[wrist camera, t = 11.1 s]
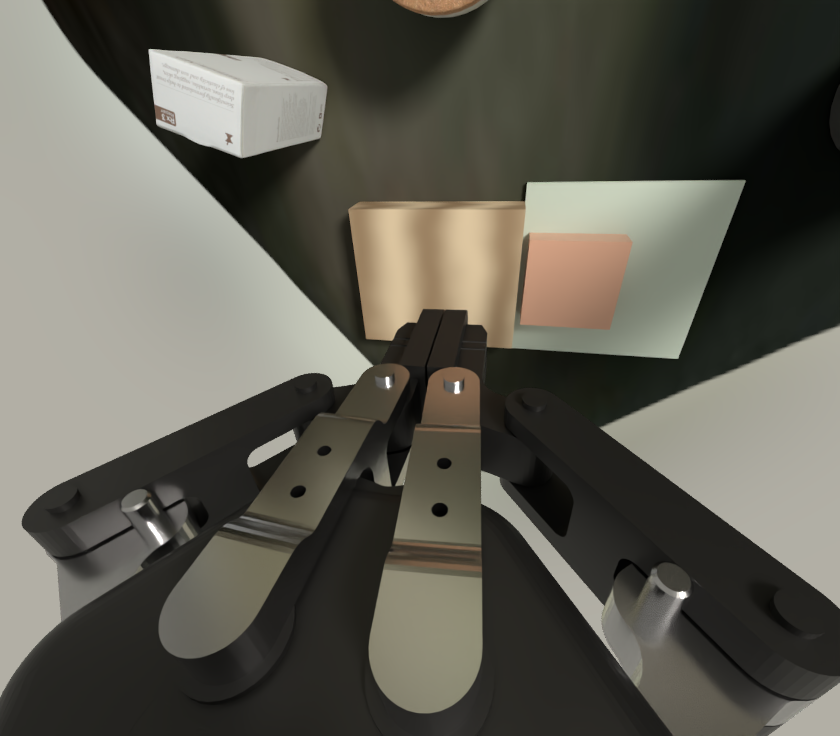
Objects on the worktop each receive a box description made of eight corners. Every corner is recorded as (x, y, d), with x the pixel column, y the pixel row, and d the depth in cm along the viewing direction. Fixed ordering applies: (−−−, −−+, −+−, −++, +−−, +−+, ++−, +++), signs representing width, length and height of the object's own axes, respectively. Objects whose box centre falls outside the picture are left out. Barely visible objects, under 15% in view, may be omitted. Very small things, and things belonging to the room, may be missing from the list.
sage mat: (743, 179, 30) (745, 180, 30) (676, 356, 39) (677, 358, 39) (527, 182, 33) (527, 183, 33) (510, 345, 42) (510, 347, 42)
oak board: (525, 201, 34) (525, 209, 32) (512, 333, 41) (511, 348, 39) (359, 201, 37) (348, 209, 35) (374, 325, 44) (366, 338, 42)
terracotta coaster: (626, 234, 34) (632, 242, 32) (605, 318, 38) (609, 329, 36) (529, 232, 35) (529, 239, 33) (519, 314, 40) (520, 324, 38)
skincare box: (329, 82, 32) (246, 77, 22) (321, 142, 35) (245, 161, 25) (257, 55, 32) (143, 38, 22) (255, 117, 35) (152, 127, 25)
